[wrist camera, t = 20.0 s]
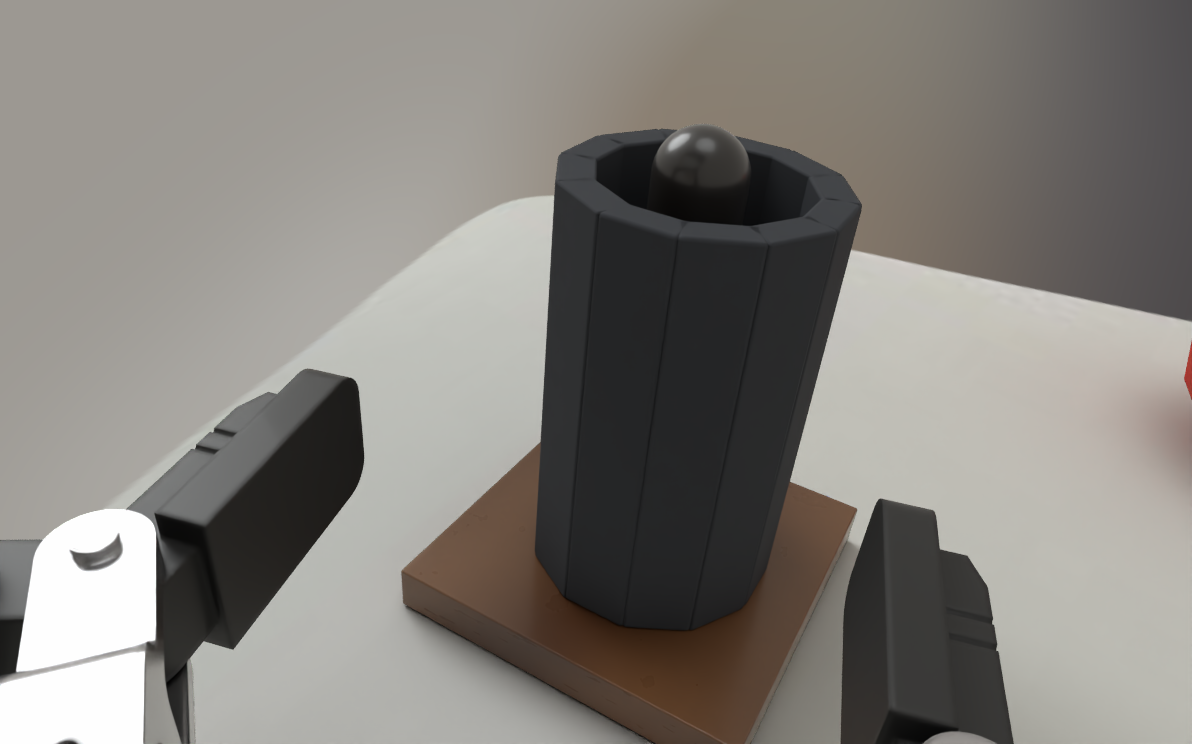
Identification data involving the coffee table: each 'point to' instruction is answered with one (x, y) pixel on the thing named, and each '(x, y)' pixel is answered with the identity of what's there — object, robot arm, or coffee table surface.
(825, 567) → the stand
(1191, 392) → the apple
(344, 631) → the coffee table surface
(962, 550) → the coffee table surface
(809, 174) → the sleeve
